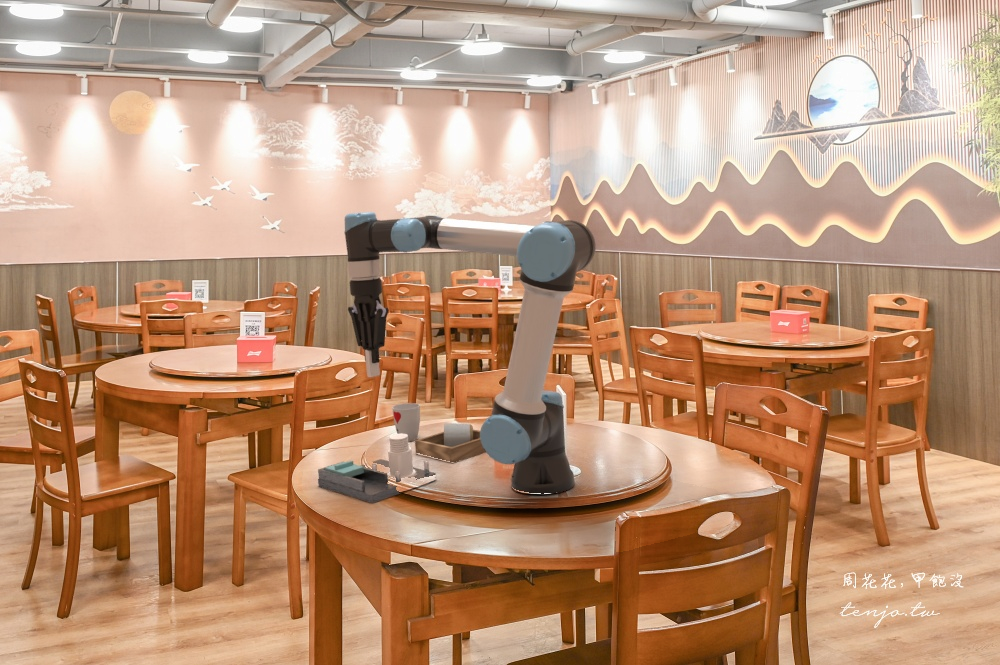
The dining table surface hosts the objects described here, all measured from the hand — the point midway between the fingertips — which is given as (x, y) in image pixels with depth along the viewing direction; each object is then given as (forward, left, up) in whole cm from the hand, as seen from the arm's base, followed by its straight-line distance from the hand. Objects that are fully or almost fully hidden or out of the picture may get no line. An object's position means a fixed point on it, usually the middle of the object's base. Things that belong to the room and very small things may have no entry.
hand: (373, 375), depth 217 cm
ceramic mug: (+11, -36, -29) cm, 47 cm away
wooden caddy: (+9, -33, -28) cm, 44 cm away
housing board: (+5, -2, -28) cm, 29 cm away
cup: (+31, -34, -29) cm, 54 cm away
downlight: (0, -6, -27) cm, 27 cm away
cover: (+10, +4, -25) cm, 27 cm away
